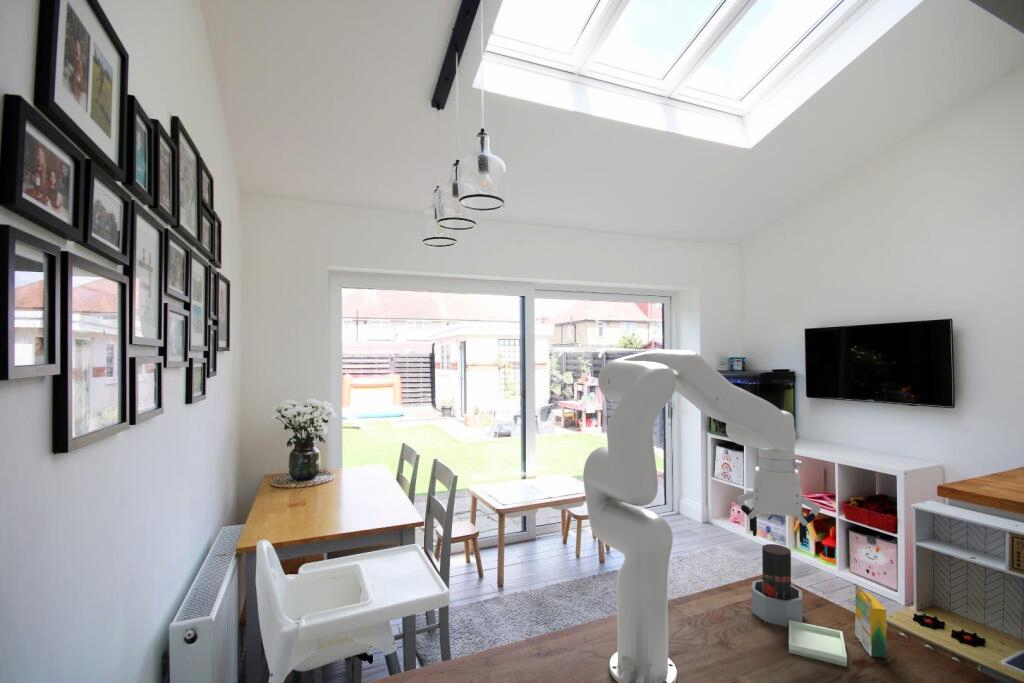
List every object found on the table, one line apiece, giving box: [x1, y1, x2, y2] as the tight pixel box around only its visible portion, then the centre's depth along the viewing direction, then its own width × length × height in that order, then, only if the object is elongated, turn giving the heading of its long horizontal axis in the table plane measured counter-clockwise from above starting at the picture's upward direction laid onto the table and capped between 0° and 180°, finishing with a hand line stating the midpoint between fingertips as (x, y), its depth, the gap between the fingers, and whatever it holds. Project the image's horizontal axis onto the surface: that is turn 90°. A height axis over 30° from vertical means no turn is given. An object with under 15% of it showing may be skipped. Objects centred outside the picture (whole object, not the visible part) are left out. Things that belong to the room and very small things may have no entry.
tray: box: [788, 620, 848, 667], centre depth 109 cm, size 10×10×2 cm
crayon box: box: [854, 582, 887, 658], centre depth 109 cm, size 7×3×12 cm, turn 168°
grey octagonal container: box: [751, 579, 804, 628], centre depth 122 cm, size 10×10×6 cm
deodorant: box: [761, 543, 792, 601], centre depth 122 cm, size 6×6×15 cm
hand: (777, 537), depth 122 cm, fingers open, 9 cm apart
